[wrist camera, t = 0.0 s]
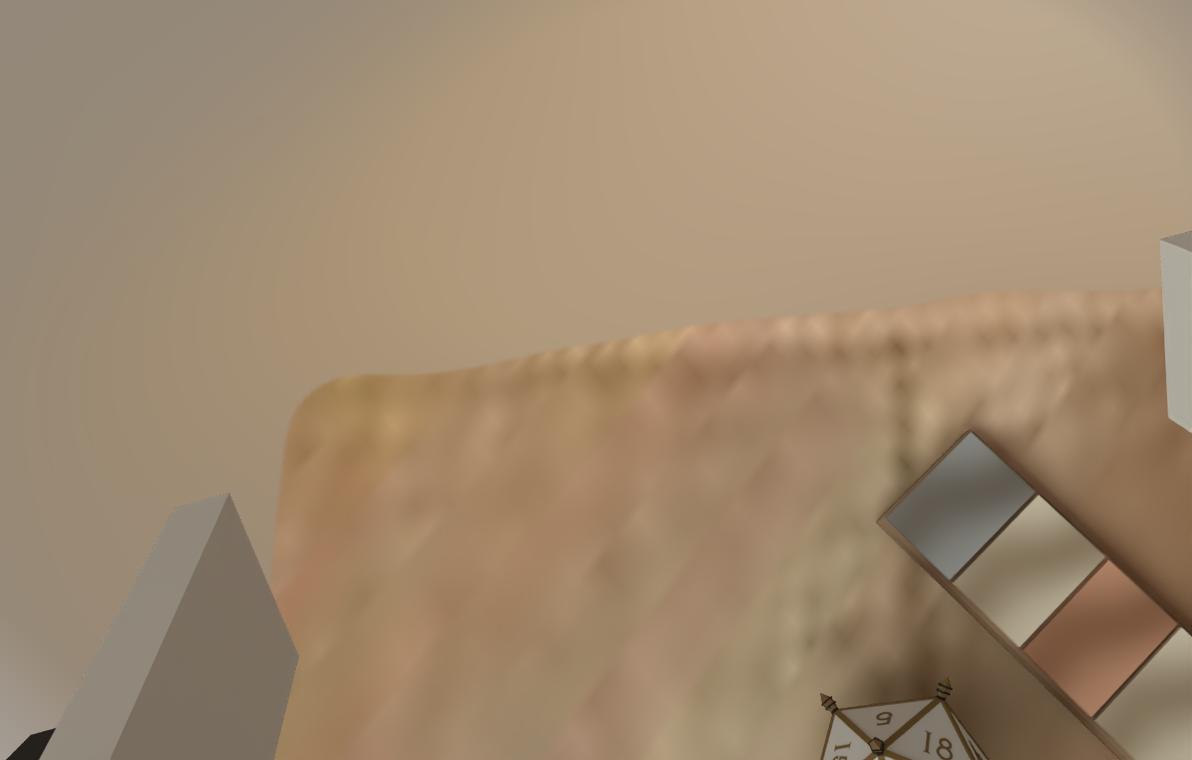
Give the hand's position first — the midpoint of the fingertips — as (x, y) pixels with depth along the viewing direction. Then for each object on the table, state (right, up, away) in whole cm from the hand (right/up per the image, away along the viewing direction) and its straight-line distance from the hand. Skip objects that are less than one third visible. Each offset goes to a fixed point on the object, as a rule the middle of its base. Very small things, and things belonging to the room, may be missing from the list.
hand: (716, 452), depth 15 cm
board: (+22, -12, +33) cm, 41 cm away
